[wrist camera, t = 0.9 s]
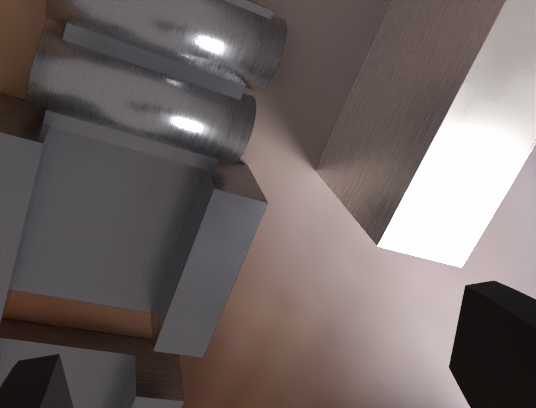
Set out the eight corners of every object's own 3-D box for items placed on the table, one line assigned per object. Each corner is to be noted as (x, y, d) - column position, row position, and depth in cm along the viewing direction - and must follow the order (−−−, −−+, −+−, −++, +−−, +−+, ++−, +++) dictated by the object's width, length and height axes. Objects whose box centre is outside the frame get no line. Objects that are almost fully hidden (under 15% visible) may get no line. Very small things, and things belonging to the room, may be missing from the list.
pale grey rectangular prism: (536, -118, 16) (707, -143, 11) (381, 189, 20) (461, 267, 15) (463, -166, 15) (619, -216, 10) (314, 169, 19) (377, 246, 14)
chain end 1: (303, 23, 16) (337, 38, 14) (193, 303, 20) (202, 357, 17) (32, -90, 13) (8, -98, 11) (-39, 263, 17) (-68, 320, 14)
